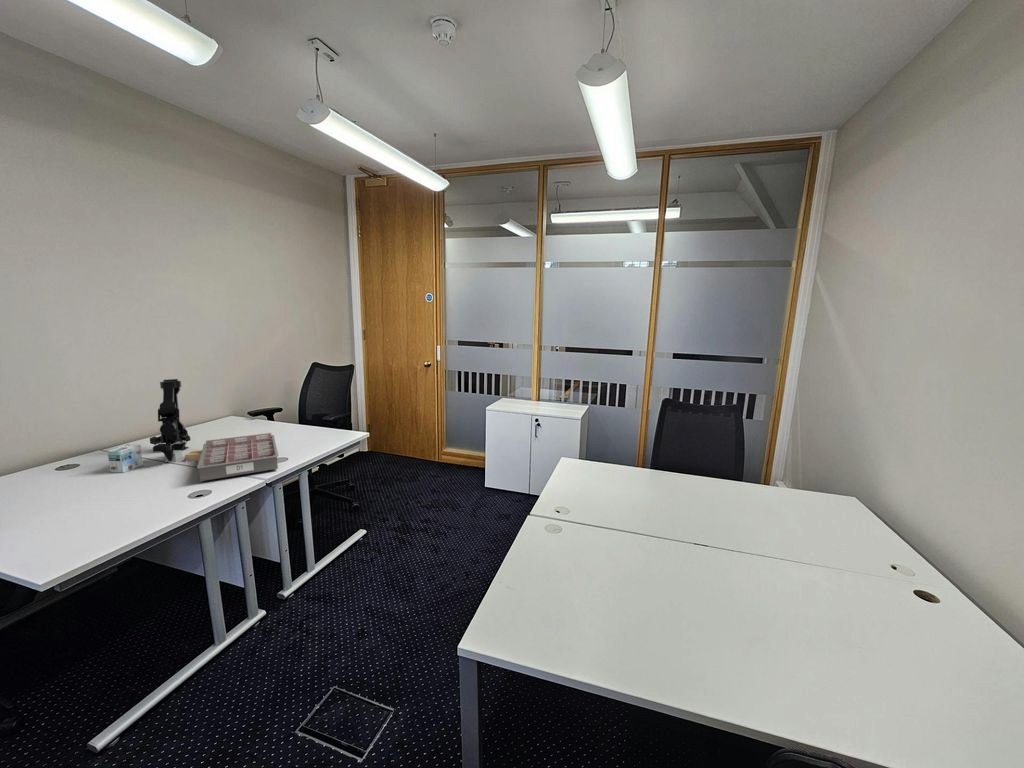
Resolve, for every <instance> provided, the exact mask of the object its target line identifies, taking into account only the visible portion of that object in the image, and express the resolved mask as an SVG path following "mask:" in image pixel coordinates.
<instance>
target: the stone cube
mask: <svg viewBox="0 0 1024 768" xmlns="http://www.w3.org/2000/svg"><path fill="white" fill-rule="evenodd" d="M164 459H165V463H166V462H169V463H168V464H172V463H171V462H177V463H179V462H180V460H181V461H183V460H184V457H183V451H182V450H174V451H173V457H172V461H168V459H167V458H166V456H165V455H164ZM182 459H183V460H182ZM178 461H179V462H178Z"/></svg>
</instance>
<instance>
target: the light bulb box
mask: <svg viewBox="0 0 1024 768" xmlns="http://www.w3.org/2000/svg"><path fill="white" fill-rule="evenodd" d="M142 456H143V455H142V448H141V444H131V443H130V444H126V445H122V446H119V447H116V448H114V449H110V450H107V458H108V462H109V463H108V464H109V469H110V470H109V471H110V473H123V474H124V473H126V472H129V471H131V470H135V469H137V468H139V467H142V466H144V464H143V463H144V462H143V457H142Z"/></svg>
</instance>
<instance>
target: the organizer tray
mask: <svg viewBox="0 0 1024 768" xmlns="http://www.w3.org/2000/svg"><path fill="white" fill-rule="evenodd" d="M201 450H202V452H201V455H200V459H199V461H197V462H198V463H197V466H196V469H198V473H199V481H200V482H202V481H210V480H216V479H222V478H229V477H234V476H241V475H247V474H253V473H260V472H265V471H271V470H277V469H278V468H279V467H278V465H279V464H278V457H279V451H278V447H277V443H276V439H275V435H273V434H272V432H266V433H258V434H251V435H242V436H233V437H232V436H231V437H224V438H218V439H217V438H216V439H208V440H205V443H203V446H202V449H201Z"/></svg>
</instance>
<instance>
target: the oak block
mask: <svg viewBox="0 0 1024 768" xmlns="http://www.w3.org/2000/svg"><path fill="white" fill-rule="evenodd" d="M201 452H202V449H194V450H192V451H190V452H188V453H186V454H184V457H185V458H184V459H185V462H186V461H195V462H199V459H200V455H201Z"/></svg>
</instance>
